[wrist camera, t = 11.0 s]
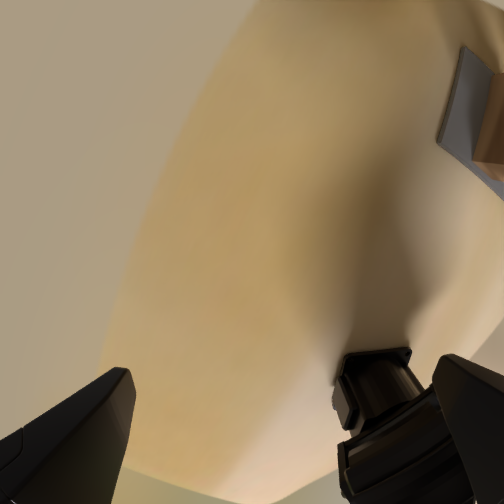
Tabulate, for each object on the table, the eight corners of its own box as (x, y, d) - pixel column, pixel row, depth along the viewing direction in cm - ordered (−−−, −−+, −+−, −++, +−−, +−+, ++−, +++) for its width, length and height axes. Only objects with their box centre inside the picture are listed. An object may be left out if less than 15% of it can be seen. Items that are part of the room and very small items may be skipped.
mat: (525, 114, 16) (529, 114, 16) (505, 202, 19) (509, 203, 18) (461, 47, 15) (465, 46, 14) (436, 143, 18) (441, 143, 17)
